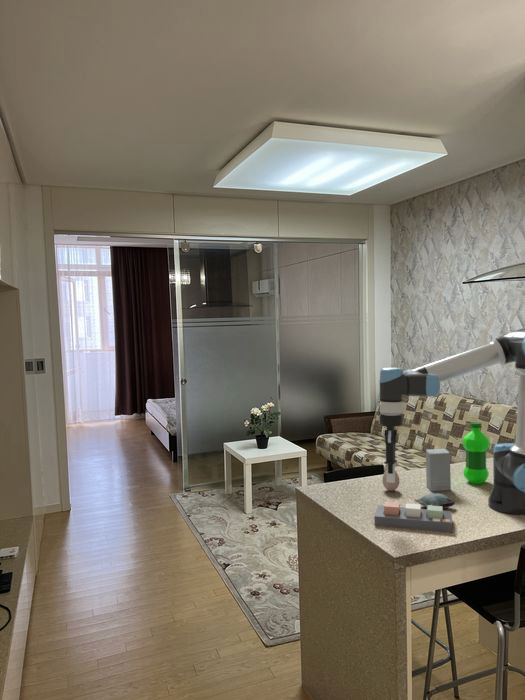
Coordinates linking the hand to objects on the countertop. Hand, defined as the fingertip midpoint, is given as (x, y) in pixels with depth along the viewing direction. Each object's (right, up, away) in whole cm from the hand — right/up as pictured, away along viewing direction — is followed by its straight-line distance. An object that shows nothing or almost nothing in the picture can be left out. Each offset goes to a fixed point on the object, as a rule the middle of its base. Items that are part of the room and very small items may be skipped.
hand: (390, 481), depth 181 cm
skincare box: (+27, -11, +33) cm, 44 cm away
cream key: (+7, -12, -2) cm, 14 cm away
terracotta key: (+1, -12, +1) cm, 12 cm away
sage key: (+14, -12, -4) cm, 19 cm away
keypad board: (+7, -13, -2) cm, 15 cm away
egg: (+8, -12, +32) cm, 35 cm away
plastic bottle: (+46, -10, +40) cm, 62 cm away
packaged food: (+19, -13, +13) cm, 26 cm away
